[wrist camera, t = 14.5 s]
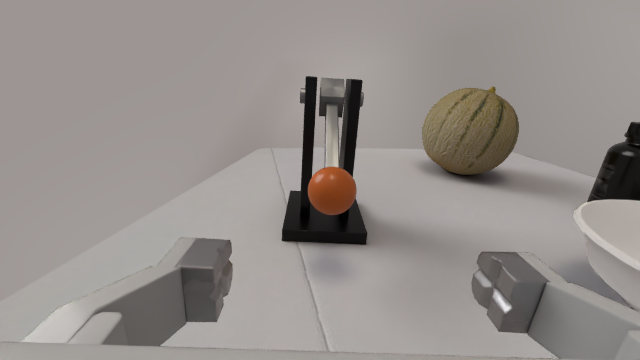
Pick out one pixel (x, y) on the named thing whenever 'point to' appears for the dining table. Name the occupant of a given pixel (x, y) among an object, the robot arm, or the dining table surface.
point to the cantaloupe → (470, 131)
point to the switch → (332, 156)
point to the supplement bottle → (620, 170)
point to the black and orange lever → (300, 212)
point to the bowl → (613, 244)
